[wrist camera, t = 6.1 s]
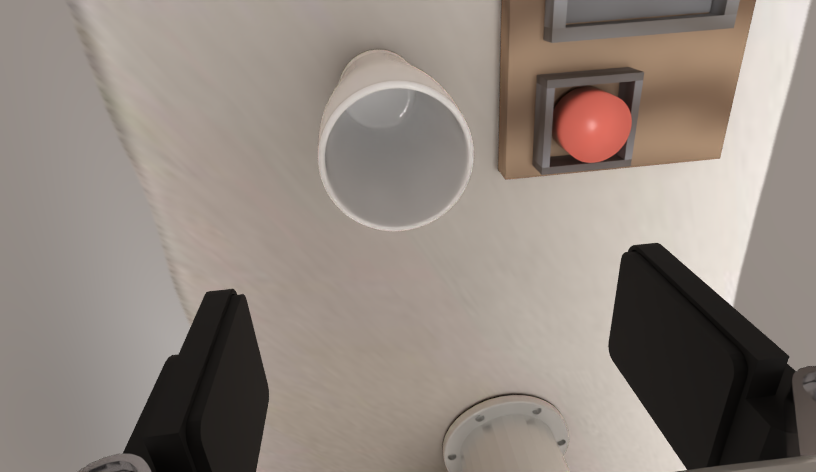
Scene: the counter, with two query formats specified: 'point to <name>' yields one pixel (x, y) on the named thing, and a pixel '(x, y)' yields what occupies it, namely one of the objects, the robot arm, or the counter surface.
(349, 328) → the counter surface
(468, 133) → the drinking glass
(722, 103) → the brown flat wooden board
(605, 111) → the button
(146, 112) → the counter surface
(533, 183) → the counter surface
